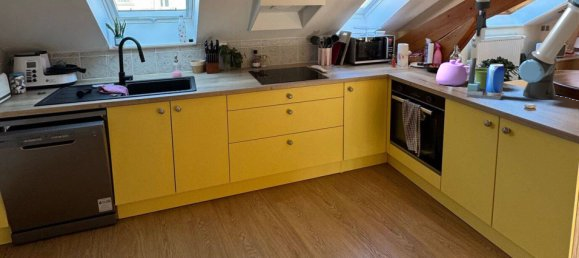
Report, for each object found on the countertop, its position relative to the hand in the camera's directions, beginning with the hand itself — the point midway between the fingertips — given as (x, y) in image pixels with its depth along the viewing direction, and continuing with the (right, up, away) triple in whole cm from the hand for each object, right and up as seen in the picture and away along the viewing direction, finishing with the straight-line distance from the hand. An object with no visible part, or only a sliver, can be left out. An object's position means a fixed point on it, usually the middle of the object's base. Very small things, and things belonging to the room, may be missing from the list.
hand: (479, 41), depth 235 cm
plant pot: (+11, -24, +21) cm, 34 cm away
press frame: (+4, -30, +2) cm, 30 cm away
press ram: (-1, -28, +5) cm, 28 cm away
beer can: (+8, -29, 0) cm, 30 cm away
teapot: (-2, -20, +37) cm, 42 cm away
